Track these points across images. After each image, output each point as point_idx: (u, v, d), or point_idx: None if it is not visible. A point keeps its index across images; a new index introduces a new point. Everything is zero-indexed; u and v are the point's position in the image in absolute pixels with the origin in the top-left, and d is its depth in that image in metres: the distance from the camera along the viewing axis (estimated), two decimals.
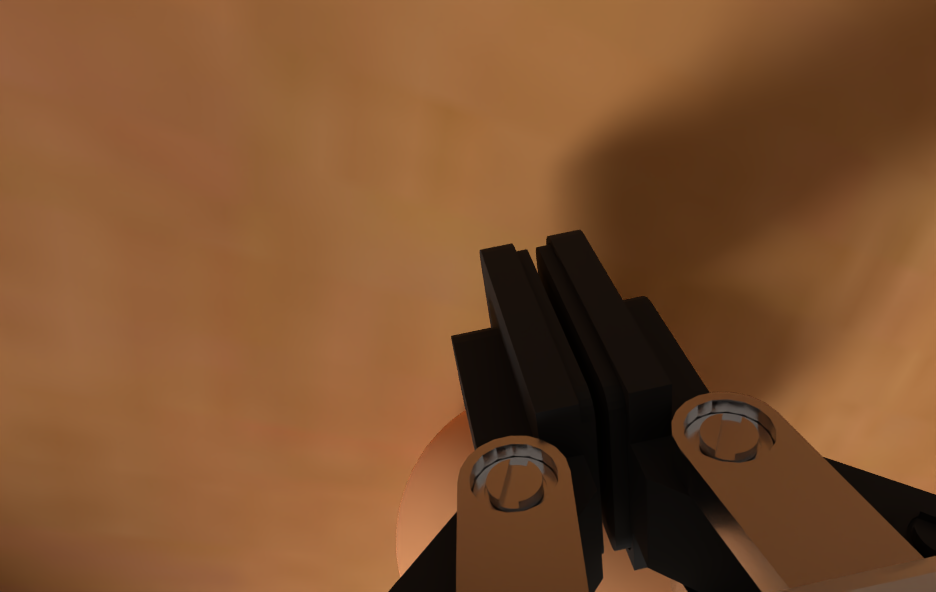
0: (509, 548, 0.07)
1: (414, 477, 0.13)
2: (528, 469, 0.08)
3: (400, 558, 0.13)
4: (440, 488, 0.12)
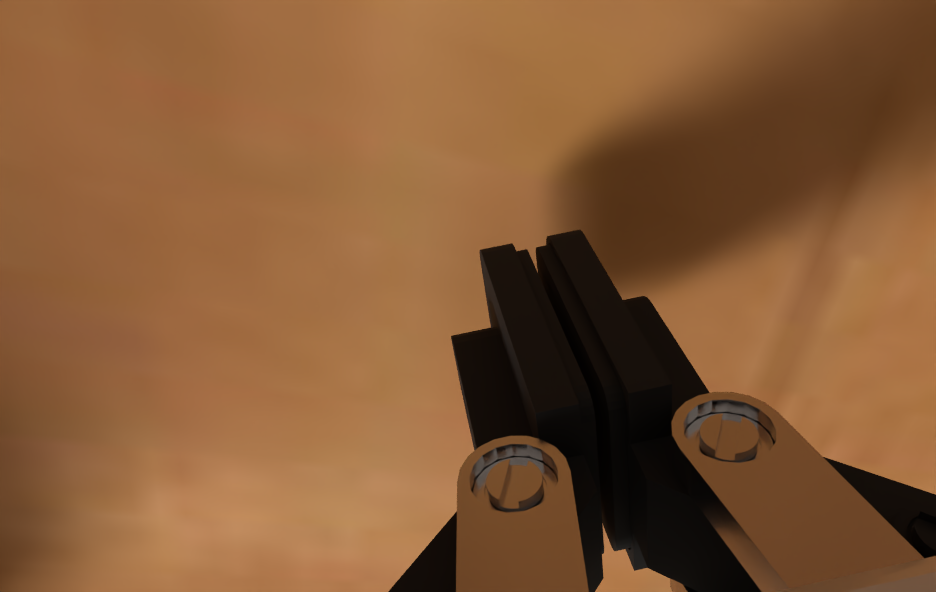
0: (509, 548, 0.07)
1: None
2: (528, 469, 0.08)
3: None
4: None
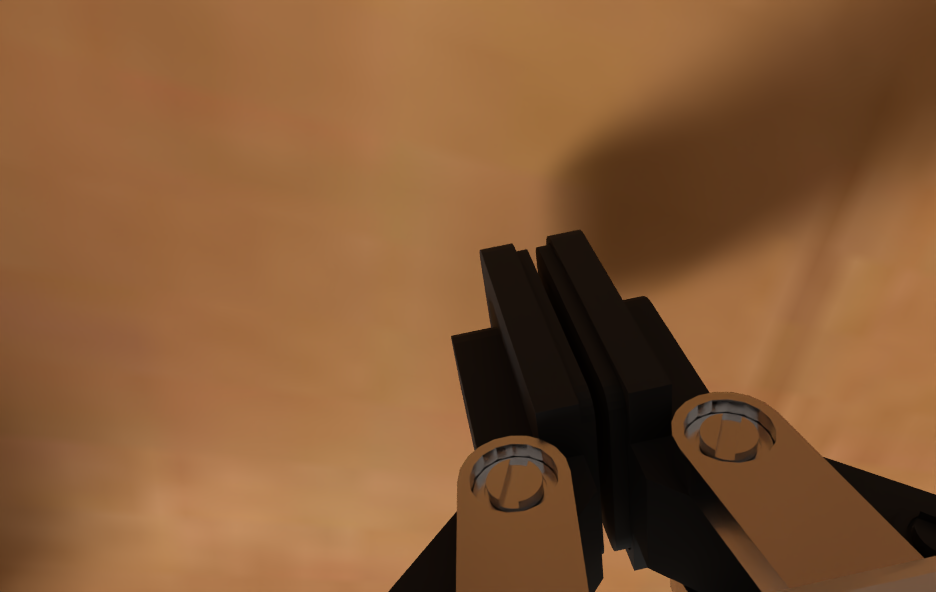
0: (509, 548, 0.07)
1: None
2: (528, 469, 0.08)
3: None
4: None
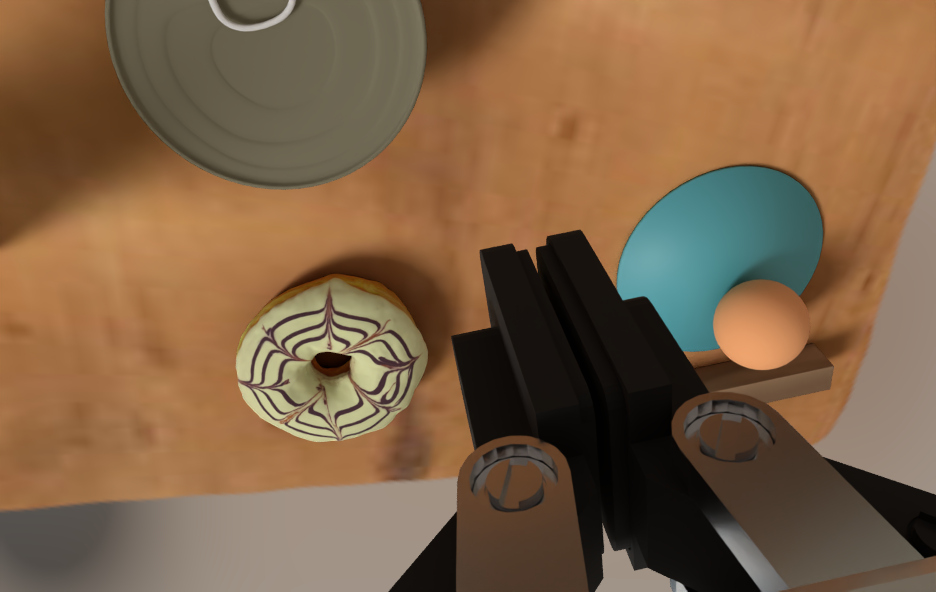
0: (509, 548, 0.07)
1: None
2: (528, 469, 0.08)
3: (714, 334, 0.47)
4: None
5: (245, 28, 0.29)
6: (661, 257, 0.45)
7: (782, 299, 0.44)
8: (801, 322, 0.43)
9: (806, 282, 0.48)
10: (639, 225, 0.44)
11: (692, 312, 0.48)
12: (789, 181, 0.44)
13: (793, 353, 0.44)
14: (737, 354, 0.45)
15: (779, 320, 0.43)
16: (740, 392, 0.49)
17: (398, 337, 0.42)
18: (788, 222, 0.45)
